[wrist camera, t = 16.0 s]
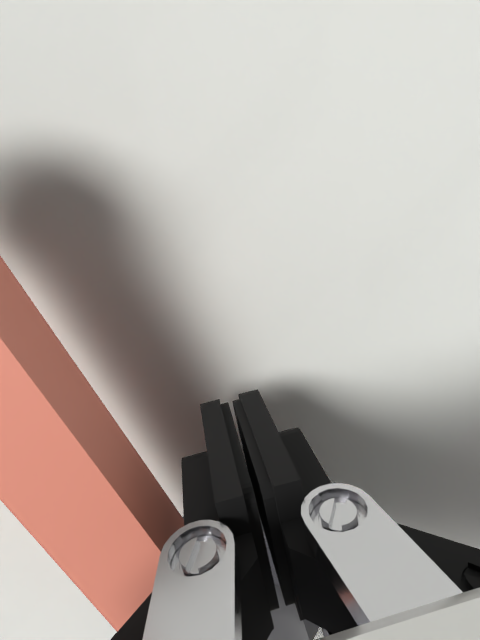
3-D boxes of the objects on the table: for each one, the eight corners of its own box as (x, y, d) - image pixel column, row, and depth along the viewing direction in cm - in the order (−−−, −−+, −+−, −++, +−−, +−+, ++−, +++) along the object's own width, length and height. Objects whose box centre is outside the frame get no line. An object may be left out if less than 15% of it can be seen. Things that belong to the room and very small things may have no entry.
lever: (318, 630, 14) (361, 754, 11) (200, 695, 13) (209, 838, 10) (-55, 34, 8) (-200, -77, 5) (-269, 141, 8) (-562, 100, 5)
